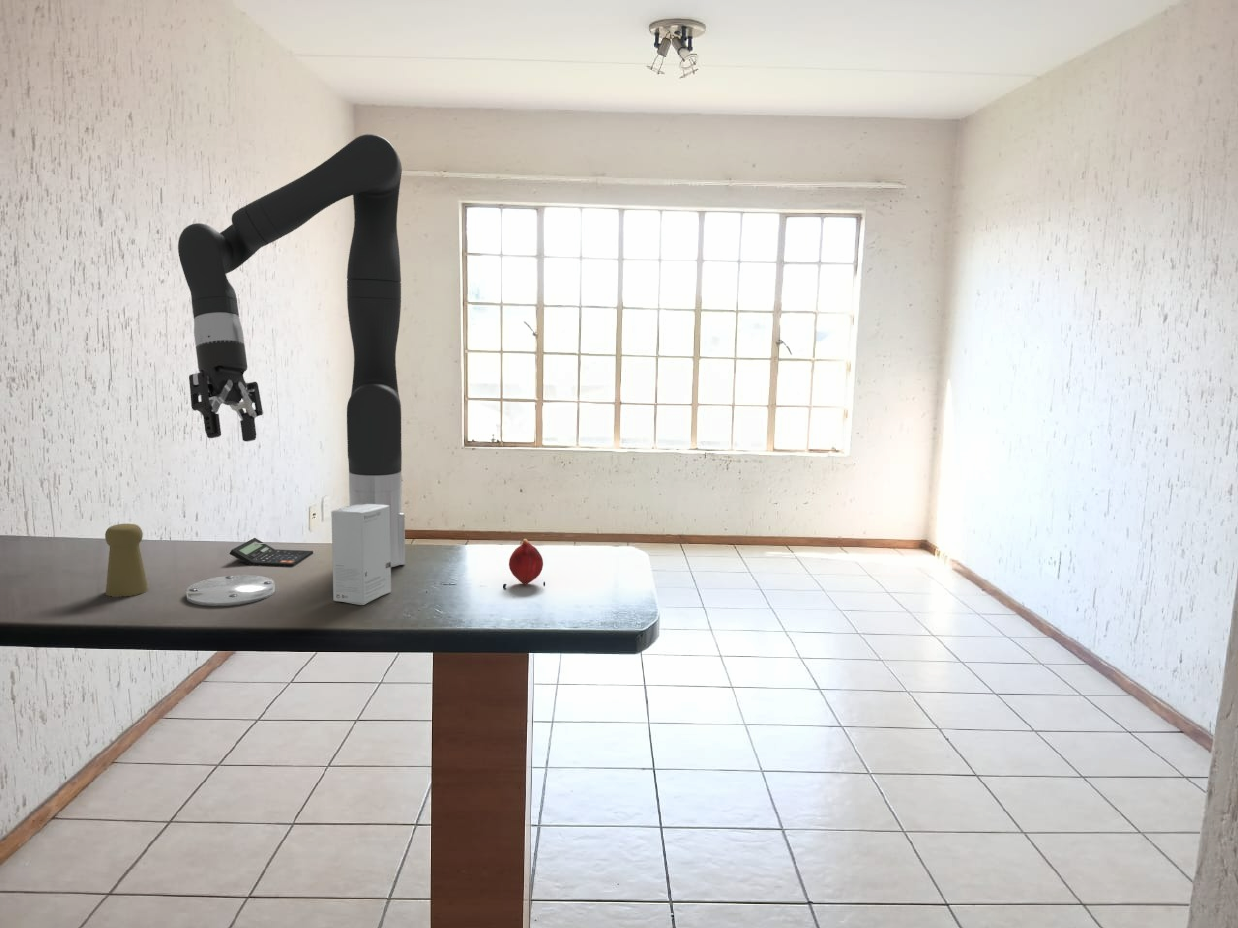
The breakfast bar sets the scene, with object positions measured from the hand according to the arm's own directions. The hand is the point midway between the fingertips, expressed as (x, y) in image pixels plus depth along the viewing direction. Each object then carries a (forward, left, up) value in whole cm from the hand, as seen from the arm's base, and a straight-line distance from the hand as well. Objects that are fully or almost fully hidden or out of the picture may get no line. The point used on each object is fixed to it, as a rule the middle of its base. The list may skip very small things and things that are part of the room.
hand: (232, 439), depth 145 cm
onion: (-45, +21, -24) cm, 55 cm away
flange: (+1, +9, -24) cm, 26 cm away
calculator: (-7, -11, -25) cm, 28 cm away
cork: (+16, +2, -24) cm, 29 cm away
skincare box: (-18, +18, -24) cm, 35 cm away
